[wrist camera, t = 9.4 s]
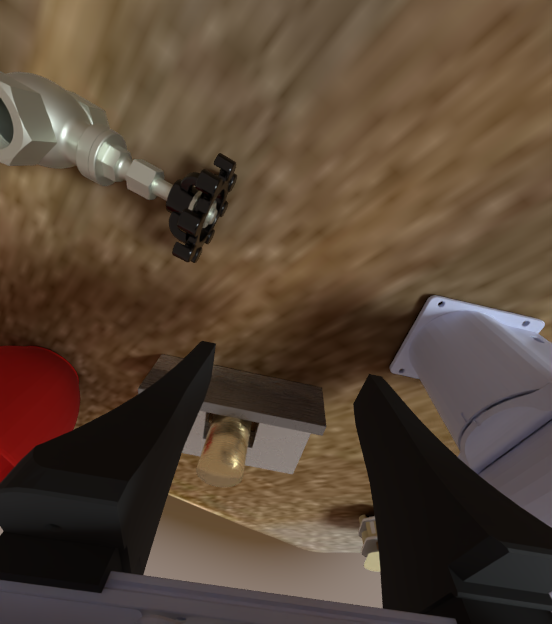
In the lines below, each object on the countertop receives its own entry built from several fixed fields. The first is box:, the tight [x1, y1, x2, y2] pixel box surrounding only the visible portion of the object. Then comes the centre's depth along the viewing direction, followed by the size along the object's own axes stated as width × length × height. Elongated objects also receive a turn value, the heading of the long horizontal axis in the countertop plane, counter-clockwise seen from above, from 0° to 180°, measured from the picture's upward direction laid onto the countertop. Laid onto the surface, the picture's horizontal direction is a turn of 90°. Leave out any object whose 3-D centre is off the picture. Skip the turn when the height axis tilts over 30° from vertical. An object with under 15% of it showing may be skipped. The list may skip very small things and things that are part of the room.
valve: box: [0, 71, 237, 263], centre depth 15 cm, size 7×7×12 cm
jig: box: [138, 354, 326, 474], centre depth 27 cm, size 16×12×4 cm
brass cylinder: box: [196, 414, 252, 487], centre depth 26 cm, size 4×4×7 cm
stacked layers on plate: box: [358, 515, 380, 572], centre depth 36 cm, size 10×9×6 cm
